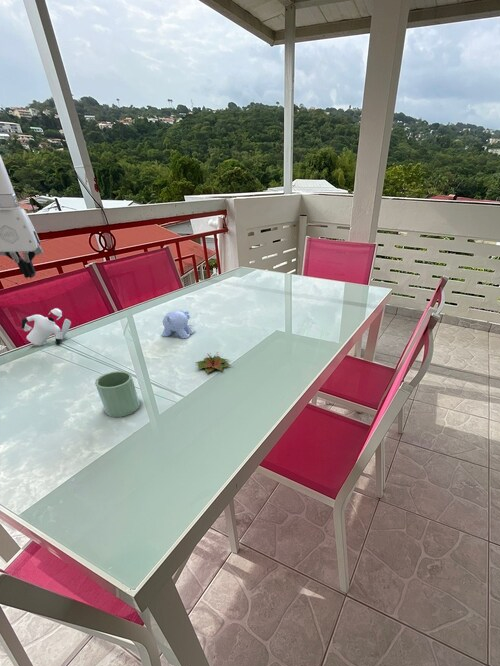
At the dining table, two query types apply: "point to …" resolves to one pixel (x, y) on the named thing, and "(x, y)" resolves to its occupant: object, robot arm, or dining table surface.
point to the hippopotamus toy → (177, 324)
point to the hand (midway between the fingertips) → (30, 276)
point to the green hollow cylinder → (117, 393)
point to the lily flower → (213, 363)
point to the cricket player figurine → (45, 328)
